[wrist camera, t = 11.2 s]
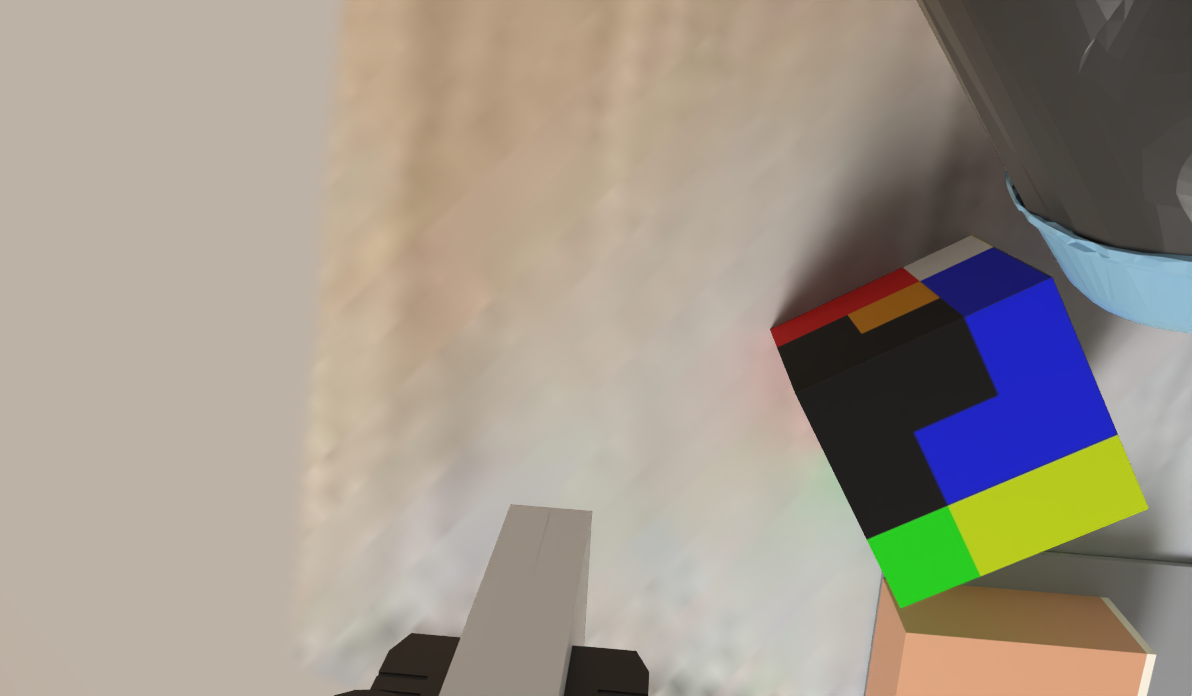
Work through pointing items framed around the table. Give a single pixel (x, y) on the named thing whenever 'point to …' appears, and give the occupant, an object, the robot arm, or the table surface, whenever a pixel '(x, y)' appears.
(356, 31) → the table surface
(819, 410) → the puzzle toy
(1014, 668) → the block
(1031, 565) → the mat
